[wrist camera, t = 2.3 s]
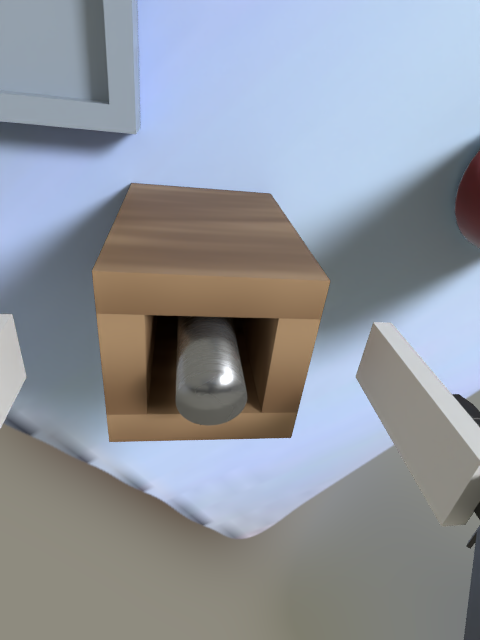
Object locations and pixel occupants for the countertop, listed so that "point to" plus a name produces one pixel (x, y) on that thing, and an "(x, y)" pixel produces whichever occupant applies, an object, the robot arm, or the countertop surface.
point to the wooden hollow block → (204, 307)
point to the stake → (208, 370)
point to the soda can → (469, 202)
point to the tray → (70, 64)
